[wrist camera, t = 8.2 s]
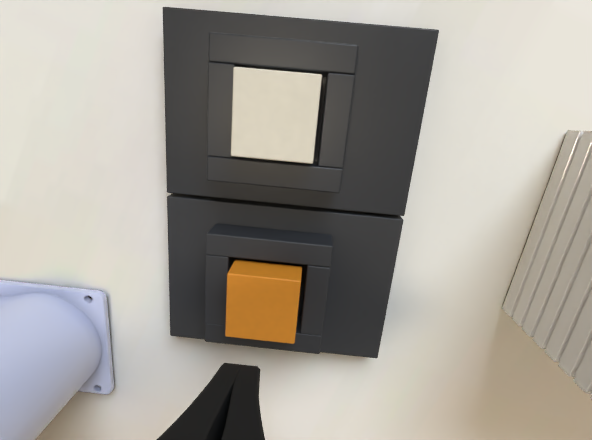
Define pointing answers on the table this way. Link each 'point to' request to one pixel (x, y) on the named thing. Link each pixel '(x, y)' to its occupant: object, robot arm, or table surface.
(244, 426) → the robot arm
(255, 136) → the white key
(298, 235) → the keypad
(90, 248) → the table surface
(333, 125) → the keypad
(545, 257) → the stack of papers
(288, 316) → the amber key
